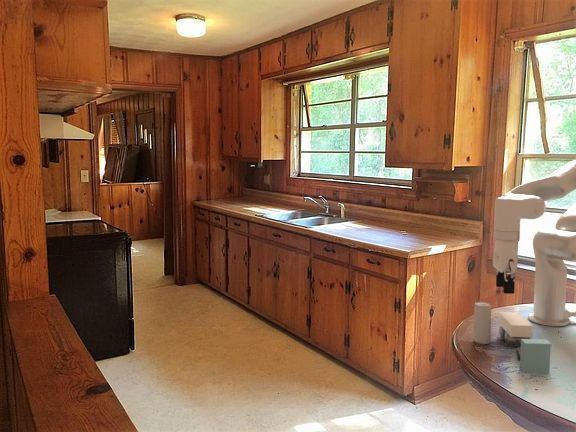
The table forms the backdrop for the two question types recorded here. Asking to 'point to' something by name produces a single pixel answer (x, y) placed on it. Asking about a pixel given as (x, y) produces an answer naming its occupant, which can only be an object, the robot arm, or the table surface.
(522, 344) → the block
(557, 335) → the table surface
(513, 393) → the table surface
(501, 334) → the cylinder
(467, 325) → the table surface
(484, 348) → the table surface
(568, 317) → the robot arm
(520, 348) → the roller
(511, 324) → the slab
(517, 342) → the cylinder
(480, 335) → the beverage can
